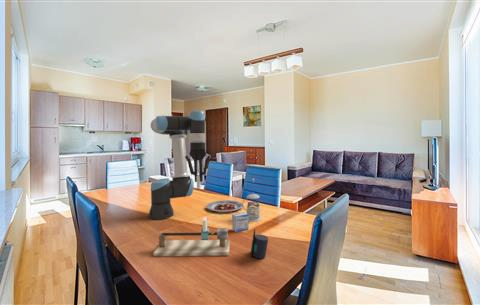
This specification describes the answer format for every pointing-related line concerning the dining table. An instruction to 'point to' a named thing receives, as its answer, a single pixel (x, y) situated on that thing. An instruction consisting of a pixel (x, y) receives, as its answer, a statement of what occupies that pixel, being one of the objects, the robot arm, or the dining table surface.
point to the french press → (251, 215)
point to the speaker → (259, 246)
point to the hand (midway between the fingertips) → (198, 188)
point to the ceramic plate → (224, 206)
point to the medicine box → (240, 222)
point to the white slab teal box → (204, 230)
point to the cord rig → (194, 245)
